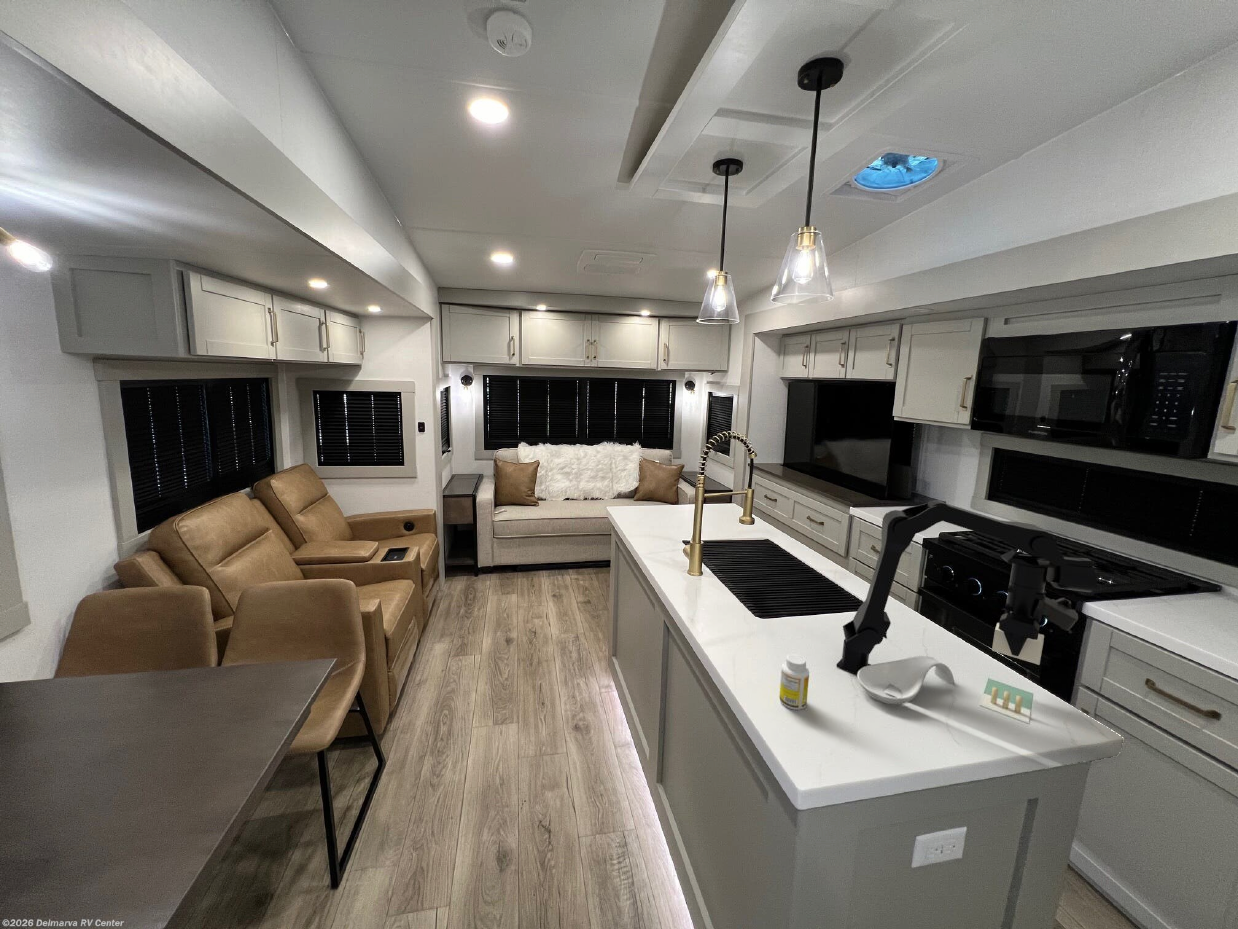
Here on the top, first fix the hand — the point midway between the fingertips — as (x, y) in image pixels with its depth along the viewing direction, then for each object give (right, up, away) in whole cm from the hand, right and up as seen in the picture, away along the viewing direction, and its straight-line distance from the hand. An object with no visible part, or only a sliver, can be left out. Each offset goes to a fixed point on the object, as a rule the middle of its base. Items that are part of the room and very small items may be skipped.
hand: (1016, 651), depth 105 cm
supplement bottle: (-50, -11, -2) cm, 51 cm away
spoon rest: (-22, -11, +3) cm, 25 cm away
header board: (-3, -11, -1) cm, 12 cm away
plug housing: (0, -1, 0) cm, 0 cm away
